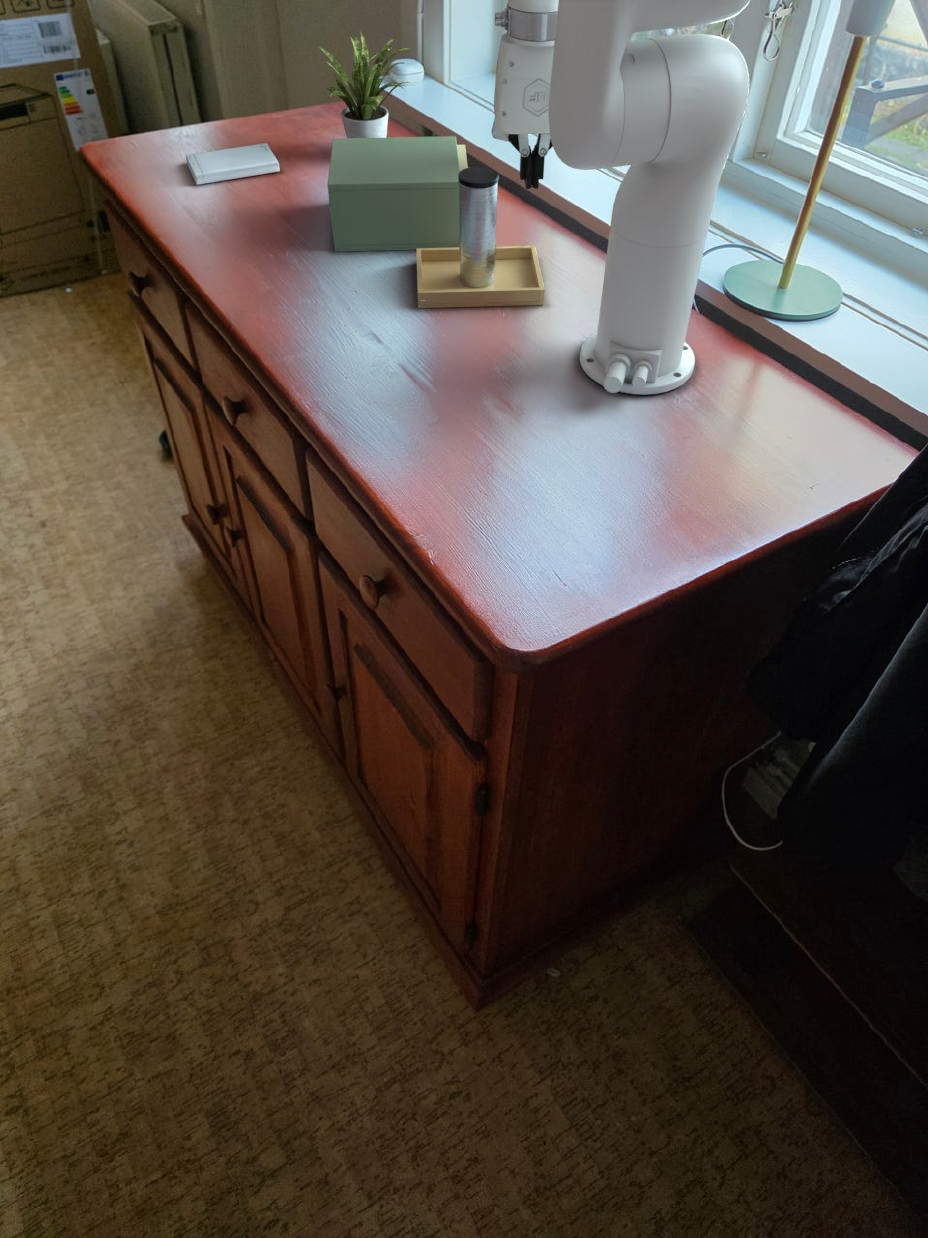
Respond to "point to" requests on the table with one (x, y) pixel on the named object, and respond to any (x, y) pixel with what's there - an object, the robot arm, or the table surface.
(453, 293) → the tray
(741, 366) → the table surface
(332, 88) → the house plant
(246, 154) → the hard drive
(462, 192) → the canister
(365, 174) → the cabinet
